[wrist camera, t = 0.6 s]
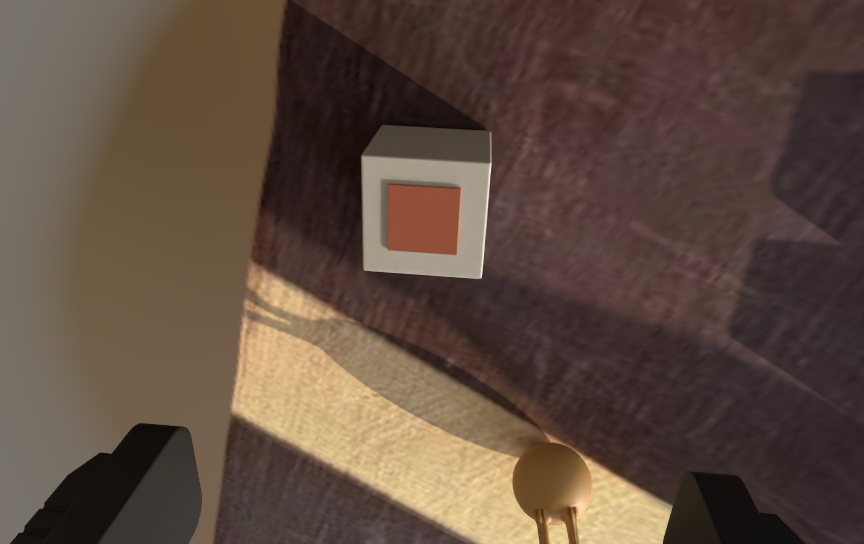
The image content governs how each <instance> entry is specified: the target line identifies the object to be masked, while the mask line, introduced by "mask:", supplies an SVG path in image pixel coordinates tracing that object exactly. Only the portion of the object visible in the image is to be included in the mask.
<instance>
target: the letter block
mask: <svg viewBox="0 0 864 544" xmlns="http://www.w3.org/2000/svg"><path fill="white" fill-rule="evenodd" d="M490 173H491V132H490V131H480V130H463V129H445V128H428V127H410V126H393V125H382V126H381V127H380V129H379V130H378V132H377V133H376V134H375V136H374V137H373V139H372V140H371V142H370V143H369V145H368V146H367V148H366V149H365V151H364V152H363V153H362V155H361V185H362V245H363V270H365V271H378V272H392V273H406V274H420V275H434V276H448V277H462V278H476V279H481V278H482V269H483V257H484V245H485V233H486V221H487V209H488V197H489V185H490Z"/></svg>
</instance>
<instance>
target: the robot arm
mask: <svg viewBox="0 0 864 544" xmlns="http://www.w3.org/2000/svg"><path fill="white" fill-rule="evenodd" d="M201 505H202V493H201V487H200V482H199V477H198V472H197V466H196V461H195V455H194V449H193V444H192V438H191V434H190V432H189V430H188V429H187V428H186V427H180V426H169V425H157V424H145V423H144V424H143V423H140V424H137V425H135V426H134V427H133V428H132V429H131V430H130V431H129V432H128V434H127V435H126V436H125V437H124V439H123V440H122V441H121V443H120V444H119V445H118V446H117V448H116V449H115V450H114V451H113V453H112V454H109V453H99V454H98V455H96V456H95V457H93V458H92V459H90V460H89V461H87V462H86V463H85V464H83V465H82V466H80V467H79V468H77V469H76V470H75V471H73V472H72V473H70V474H69V475H68V476H67V477H66V478H65V479H64V480H63V482H62V483H61V484H60V485H59V486H58V487H57V489H56V490H55V491H54V492H53V493H52V495H51V496H50V497H49V498H48V499H47V501H46V502H45V503H44V508H43V509H39V510H38V511H37V512H36V514H35V515H34V516H33V517H32V518H31V520H30V521H29V522H28V523H27V524H26V525H25V529H24V532H23V533H19V534H18V535H17V536H16V537H15V538H14V540H13V541H12V542H11V543H10V544H189V542H190V540H191V538H192V536H193V534H194V532H195V530H196V527H197V524H198V521H199V517H200V512H201ZM663 544H805V543H804V542H803V541H802V540H801V539H800V538H799V537H798V536H797V535H796V534H795V533H794V532H793V531H792V530H791V529H790V528H789V527H788V526H787V525H786V524H785V523H784V522H783V521H782V520H781V519H780V518H779V517H778V516H777V515H776V514H765V513H759V512H758V510H757V508H756V506H755V504H754V502H753V500H752V498H751V496H750V494H749V492H748V490H747V488H746V486H745V484H744V483H743V481H742V480H741V479H740V478H739V477H738V476H735V475H724V474H713V473H701V472H689V471H688V472H685V473H684V474H683V475H682V477H681V480H680V483H679V487H678V490H677V494H676V497H675V501H674V504H673V507H672V511H671V514H670V518H669V521H668V525H667V528H666V532H665V535H664V540H663Z"/></svg>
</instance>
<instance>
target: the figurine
mask: <svg viewBox="0 0 864 544" xmlns="http://www.w3.org/2000/svg"><path fill="white" fill-rule="evenodd" d="M513 490H514V494H515V497H516V500H517V502H518V504H519V505H520V507H521V508H522V509H523V511H524V512H525V513H526V514H527V515H528V516H530V517H531V518H532V519H534V520H535V521H536V523H537V527H538V535H539V543H540V544H549V530H548V525H563V524H566V528H567V533H568V538H569V544H579V537H578V529H577V518H578V517H579V516H580V515H581V514H582V513H583V512H584V511H585V509H586V508H587V506H588V504H589V502H590V499H591V495H592V479H591V475H590V472H589V469H588V467H587V465H586V463H585V462H584V460H583V459H582V458H581V457H580V456H579V455H578V454H577V453H576V452H575V451H573V450H572V449H570V448H569V447H567V446H564V445H561V444H557V443H543V444H539V445H536V446H534V447H532V448H530V449H529V450H527V451H526V452H525V453H524V454H523V455H522V456H521V457H520V459H519V460H518V462H517V464H516V466H515V469H514V473H513Z"/></svg>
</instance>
